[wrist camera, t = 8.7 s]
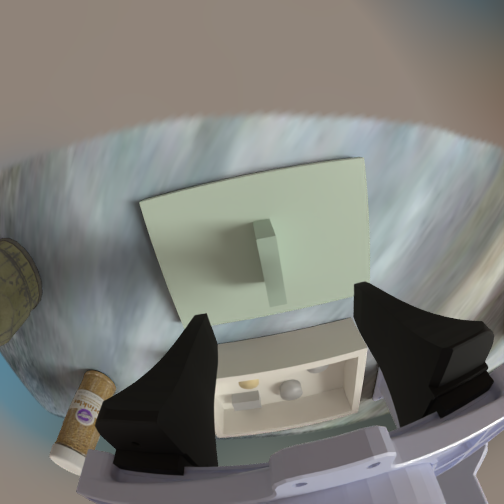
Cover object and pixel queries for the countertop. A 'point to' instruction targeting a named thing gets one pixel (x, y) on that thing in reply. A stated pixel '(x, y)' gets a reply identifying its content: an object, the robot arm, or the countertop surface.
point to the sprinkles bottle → (81, 422)
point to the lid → (263, 240)
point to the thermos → (16, 287)
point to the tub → (289, 379)
